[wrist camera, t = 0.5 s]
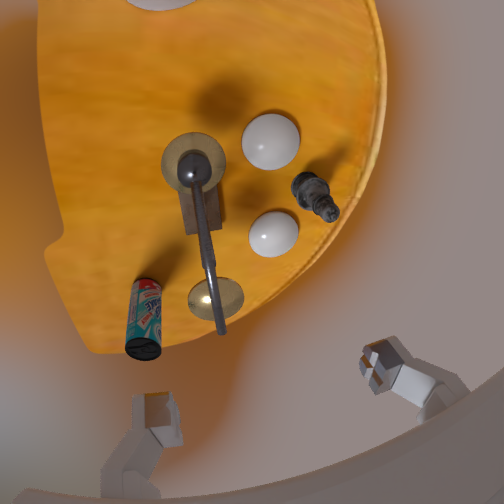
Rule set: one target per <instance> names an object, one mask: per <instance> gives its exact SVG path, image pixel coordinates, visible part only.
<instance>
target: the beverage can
mask: <svg viewBox="0 0 504 504" xmlns="http://www.w3.org/2000/svg"><path fill="white" fill-rule="evenodd" d="M161 294H162V292H161V287H160V285H159V284H158V283H157V282H156V281H154V280H153V279H149V278H142V279H139V280H137V281H136V282H135V283H134V284H133V286H132V289H131V296H130V304H129V312H128V321H127V331H126V343H125V351H126V353H127V354H128V355H129V356H130V357H132V358H134V359H137V360H140V361H150V360H154V359H156V358H158V357H159V356H160V355H161Z"/></svg>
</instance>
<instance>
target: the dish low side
mask: <svg viewBox="0 0 504 504" xmlns="http://www.w3.org/2000/svg"><path fill="white" fill-rule="evenodd" d="M299 144H300V137H299V133H298V130H297V128H296V126H295V125H294V124H293V123H292V122H291V121H290V120H289V119H287V118H286V117H284V116H282V115H279V114H273V113H269V114H263V115H260V116H258V117H256V118H254V119H253V120H252V121H251V122H250V123H249V124H248V125H247V126H246V128H245V130H244V132H243V135H242V140H241V145H242V150H243V153H244V155H245V156H246V158H247V159H248V160H249V162H250V163H251V164H253V165H254V166H256V167H258V168H260V169H264V170H275V169H279V168H281V167H284V166H285V165H287V164H288V163H289V162H291V161H292V159H293V158H294V157H295V155H296V154H297V151H298V149H299Z"/></svg>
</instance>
